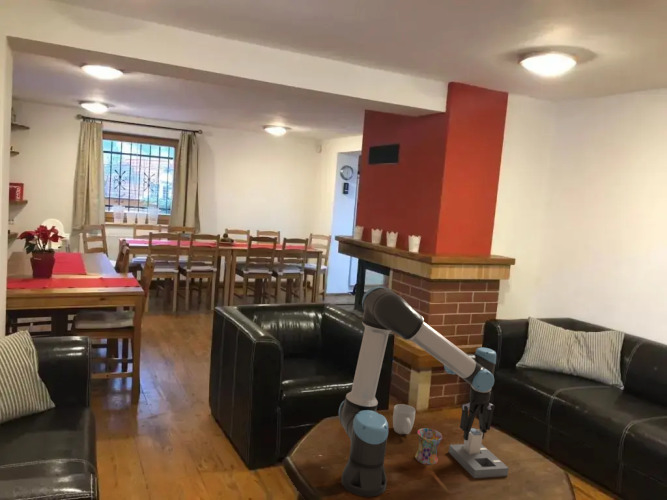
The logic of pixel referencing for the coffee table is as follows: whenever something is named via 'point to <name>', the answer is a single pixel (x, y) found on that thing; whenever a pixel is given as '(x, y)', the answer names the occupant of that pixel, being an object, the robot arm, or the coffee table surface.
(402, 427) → the mug
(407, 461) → the coffee table surface
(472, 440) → the plug
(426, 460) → the mug
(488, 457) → the panel
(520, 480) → the coffee table surface
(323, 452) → the coffee table surface
